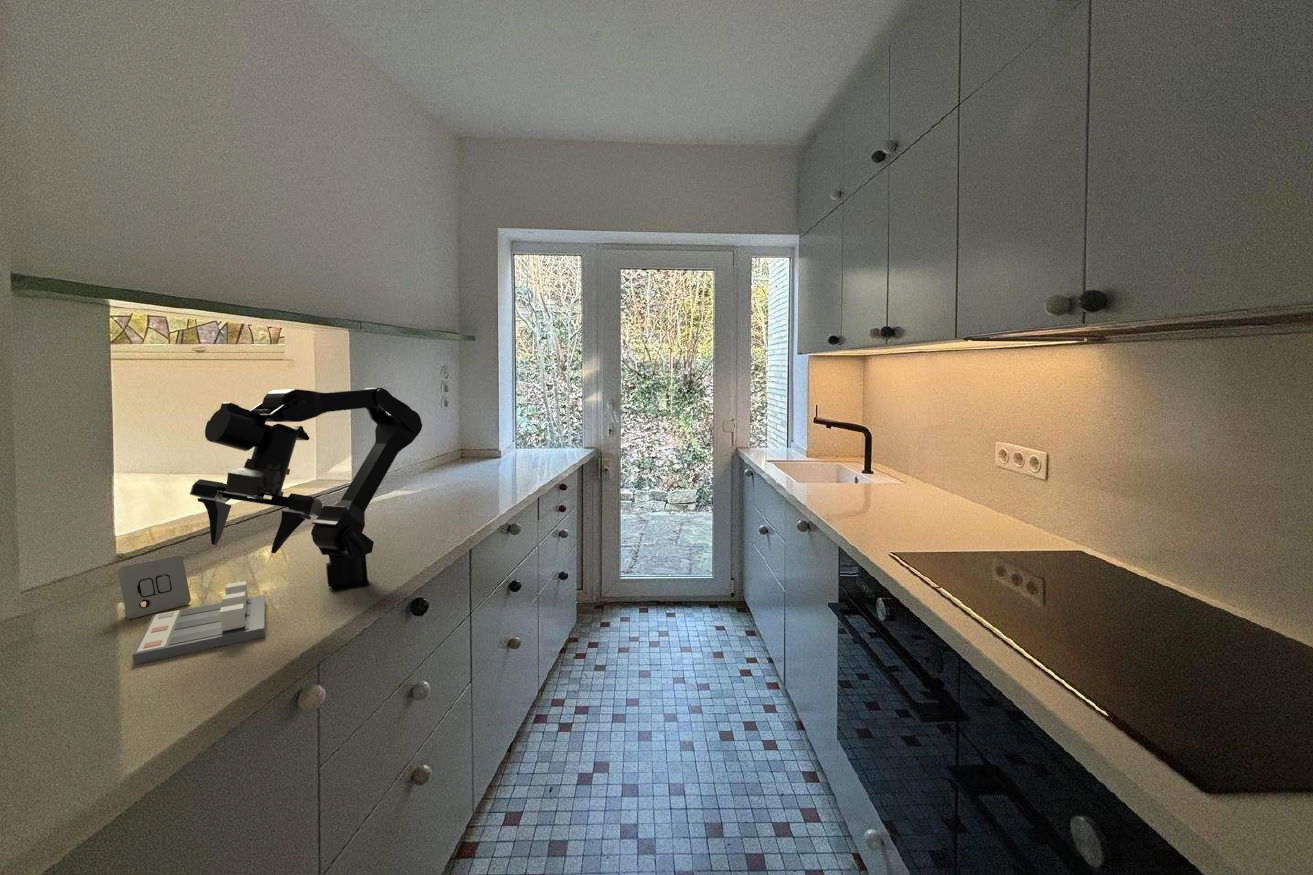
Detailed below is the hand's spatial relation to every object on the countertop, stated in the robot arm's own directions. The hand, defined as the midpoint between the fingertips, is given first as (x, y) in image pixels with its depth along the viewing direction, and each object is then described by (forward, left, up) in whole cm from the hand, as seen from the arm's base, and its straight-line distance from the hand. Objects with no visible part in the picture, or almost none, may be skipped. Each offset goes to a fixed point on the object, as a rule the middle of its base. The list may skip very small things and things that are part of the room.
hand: (243, 548), depth 105 cm
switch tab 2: (+2, +1, -10) cm, 11 cm away
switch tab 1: (+2, -6, -10) cm, 12 cm away
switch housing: (+6, +1, -12) cm, 14 cm away
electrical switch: (+15, -17, -12) cm, 26 cm away
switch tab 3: (+2, +8, -10) cm, 13 cm away
